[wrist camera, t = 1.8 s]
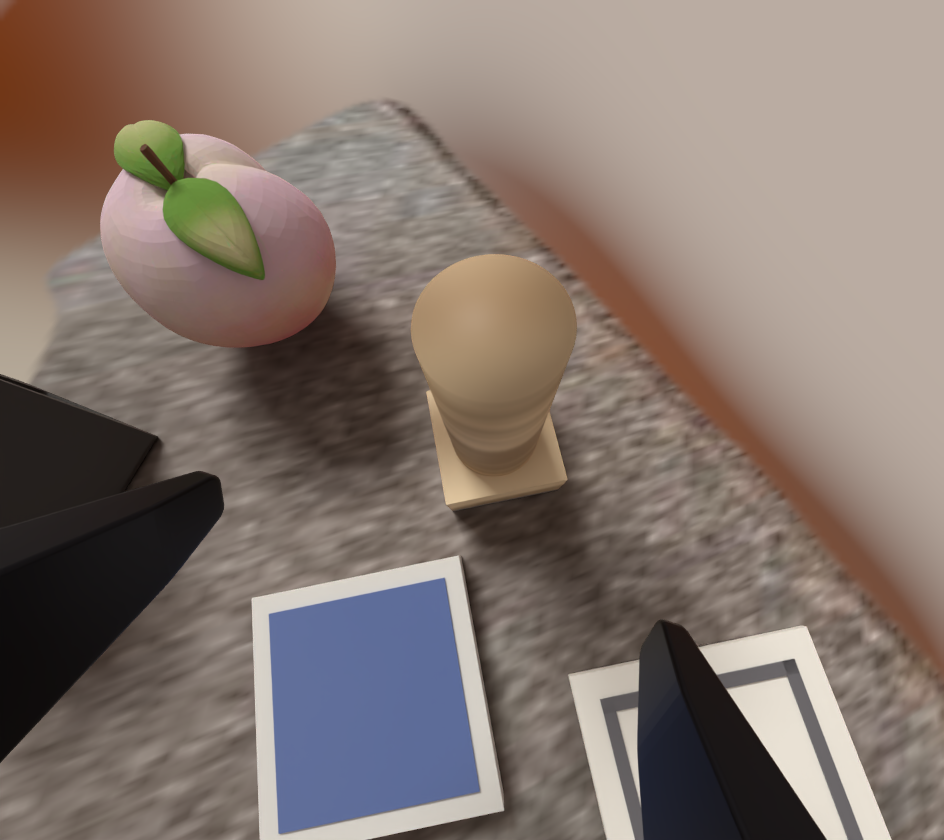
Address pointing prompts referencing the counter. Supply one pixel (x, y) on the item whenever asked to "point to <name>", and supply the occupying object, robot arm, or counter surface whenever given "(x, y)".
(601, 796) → the card
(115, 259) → the decorative fruit
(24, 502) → the phone stand
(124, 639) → the counter surface
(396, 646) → the ink pad
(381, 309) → the counter surface
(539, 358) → the stamp
